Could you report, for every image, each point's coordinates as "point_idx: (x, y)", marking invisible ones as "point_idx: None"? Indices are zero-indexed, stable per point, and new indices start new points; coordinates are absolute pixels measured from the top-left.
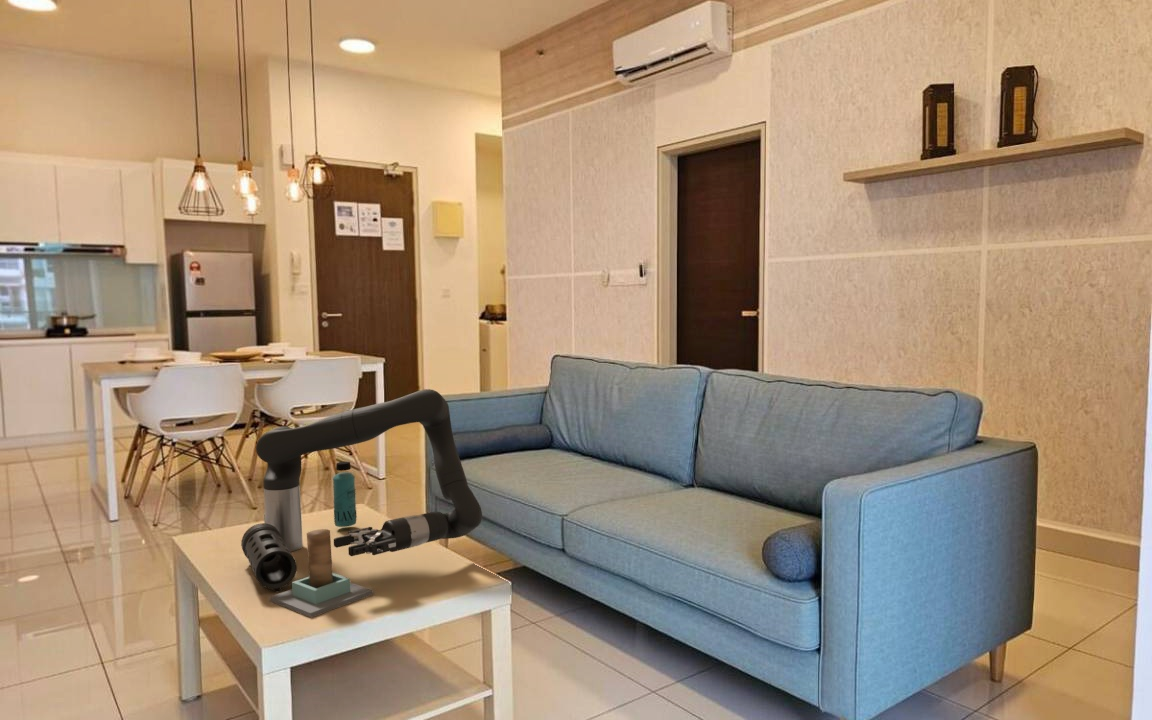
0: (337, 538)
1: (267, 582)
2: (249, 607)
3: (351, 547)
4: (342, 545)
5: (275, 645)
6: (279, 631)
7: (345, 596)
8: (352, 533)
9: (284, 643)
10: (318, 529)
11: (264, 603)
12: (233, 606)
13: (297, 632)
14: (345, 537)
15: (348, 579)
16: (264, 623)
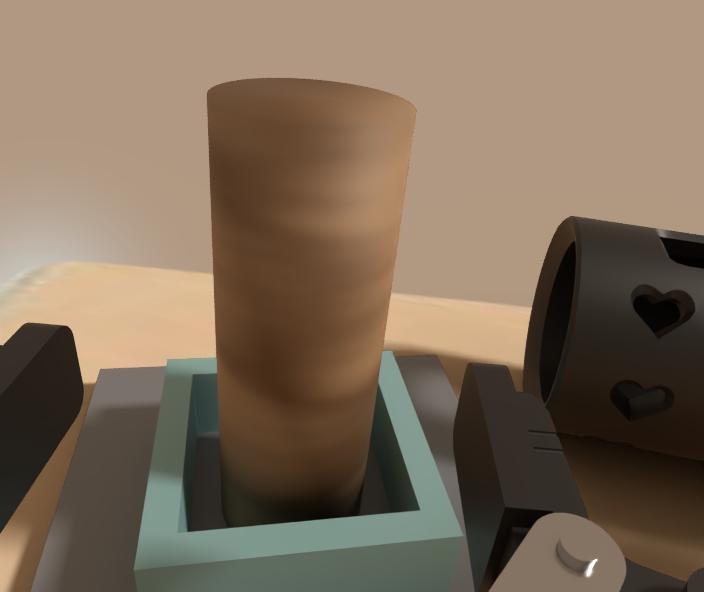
0: (473, 376)
1: (553, 354)
2: (416, 321)
3: (25, 333)
4: (465, 497)
5: (32, 268)
6: (113, 301)
7: (102, 563)
8: (581, 571)
9: (12, 281)
10: (412, 118)
11: (421, 354)
12: (463, 304)
13: (38, 321)
14: (486, 460)
15: (136, 559)
16: None
